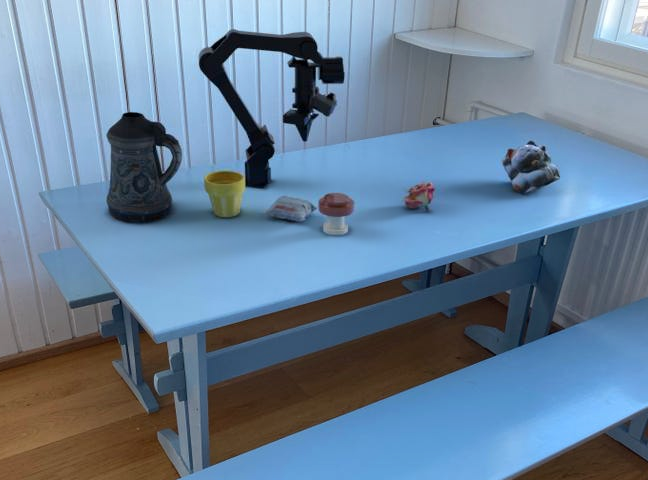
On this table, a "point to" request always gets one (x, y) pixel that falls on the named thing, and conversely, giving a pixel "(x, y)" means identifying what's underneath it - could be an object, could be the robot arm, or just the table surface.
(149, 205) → the beer stein
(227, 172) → the flower pot
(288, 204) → the packaged food
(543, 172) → the lucky cat figurine
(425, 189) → the flower
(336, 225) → the mushroom
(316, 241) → the table surface
